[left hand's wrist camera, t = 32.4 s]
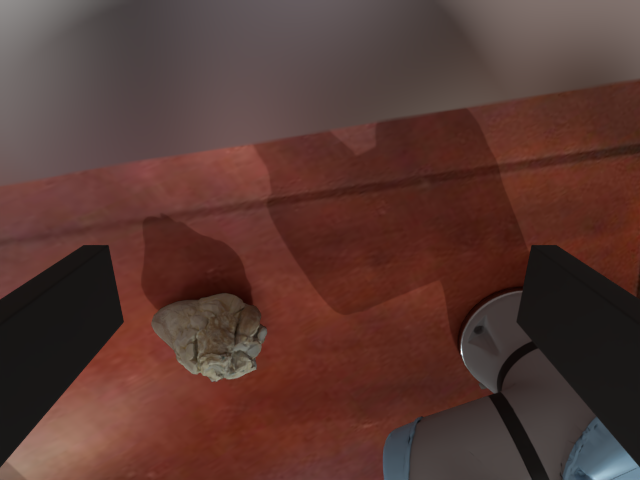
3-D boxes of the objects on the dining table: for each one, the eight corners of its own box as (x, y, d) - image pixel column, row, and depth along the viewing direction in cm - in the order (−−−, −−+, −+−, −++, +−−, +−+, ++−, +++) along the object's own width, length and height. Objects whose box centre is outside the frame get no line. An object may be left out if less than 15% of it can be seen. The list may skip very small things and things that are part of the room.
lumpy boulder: (161, 269, 53) (261, 278, 48) (195, 320, 60) (285, 333, 55) (106, 341, 45) (218, 362, 40) (152, 390, 52) (252, 413, 47)
